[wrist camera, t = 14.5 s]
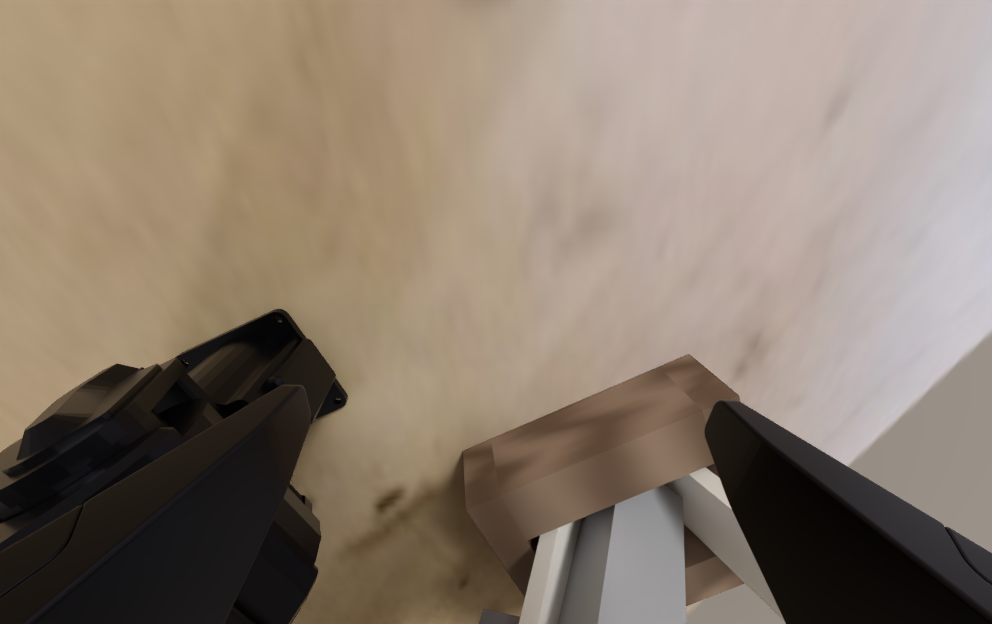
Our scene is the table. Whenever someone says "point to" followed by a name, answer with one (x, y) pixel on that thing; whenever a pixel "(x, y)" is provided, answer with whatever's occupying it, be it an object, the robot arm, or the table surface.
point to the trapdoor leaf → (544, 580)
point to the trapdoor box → (598, 466)
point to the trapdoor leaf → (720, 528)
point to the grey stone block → (629, 564)
